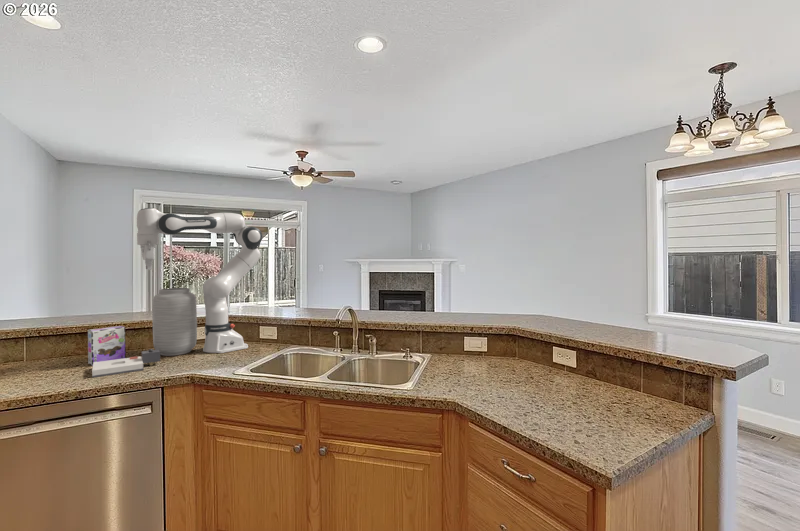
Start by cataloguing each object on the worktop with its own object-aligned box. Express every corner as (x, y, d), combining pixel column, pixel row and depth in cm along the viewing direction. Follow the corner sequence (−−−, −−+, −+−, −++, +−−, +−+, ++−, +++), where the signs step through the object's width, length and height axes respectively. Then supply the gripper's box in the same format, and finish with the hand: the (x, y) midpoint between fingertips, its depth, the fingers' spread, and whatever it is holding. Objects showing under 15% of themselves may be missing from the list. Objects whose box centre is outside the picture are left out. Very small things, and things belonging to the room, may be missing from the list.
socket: (141, 362, 190) (140, 354, 190) (143, 370, 177) (143, 362, 177) (93, 368, 180) (93, 361, 179) (92, 377, 167) (92, 369, 167)
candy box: (91, 366, 184) (91, 330, 184) (87, 364, 188) (86, 329, 187) (126, 359, 195) (125, 326, 195) (121, 358, 199) (121, 325, 198)
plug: (159, 362, 190) (158, 347, 190) (160, 364, 186) (160, 349, 185) (141, 364, 186) (141, 349, 186) (142, 367, 181) (142, 351, 181)
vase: (192, 346, 223) (191, 286, 223) (201, 353, 208) (200, 289, 207) (150, 352, 211) (149, 288, 210) (156, 359, 195) (155, 291, 194)
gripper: (157, 240, 187) (158, 269, 188) (153, 241, 204) (154, 268, 204) (141, 240, 183) (142, 270, 184) (139, 241, 200) (139, 269, 200)
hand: (148, 269), depth 194 cm, fingers open, 8 cm apart
